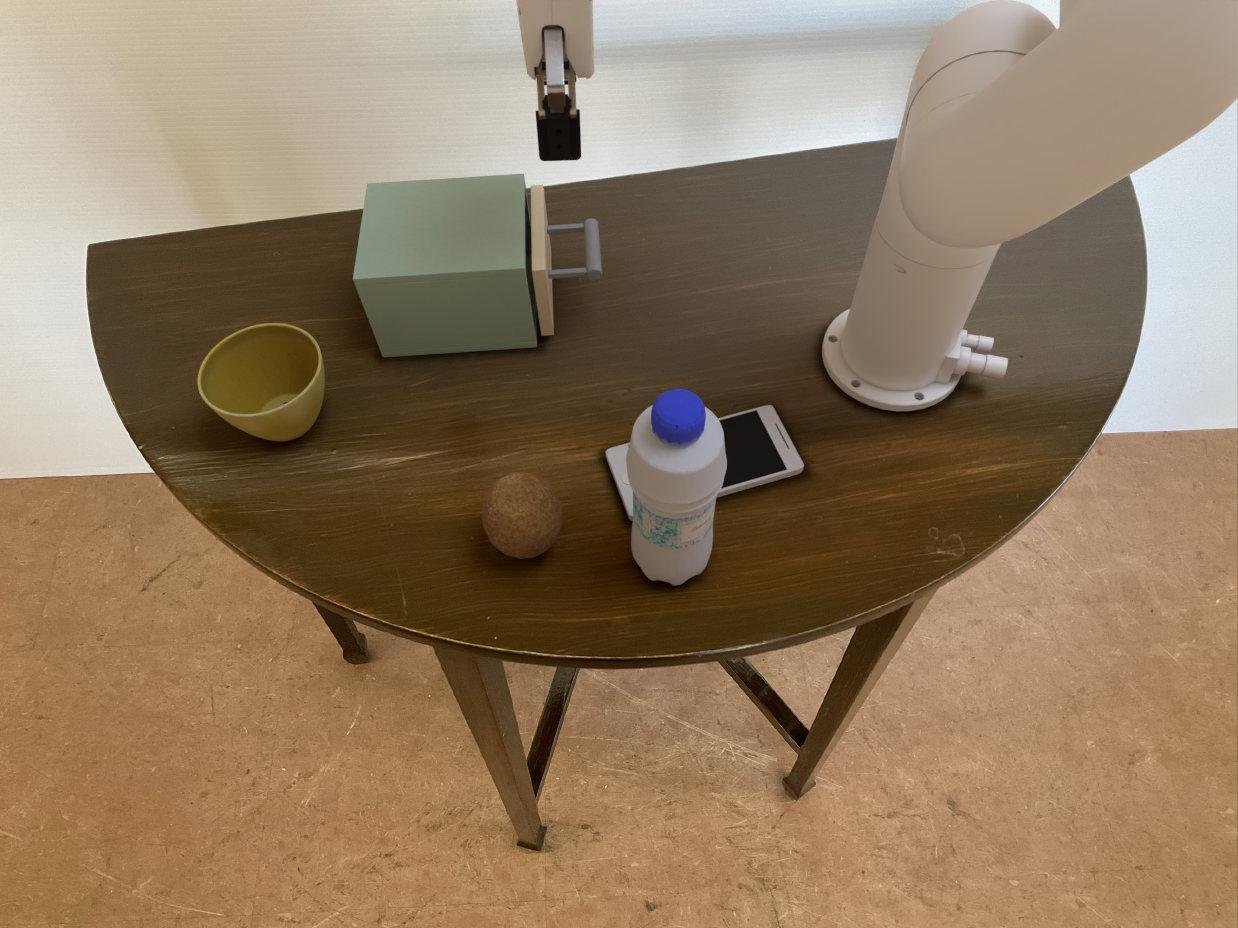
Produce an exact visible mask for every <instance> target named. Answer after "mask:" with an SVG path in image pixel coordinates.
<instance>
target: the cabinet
mask: <svg viewBox="0 0 1238 928" xmlns="http://www.w3.org/2000/svg"><path fill="white" fill-rule="evenodd" d="M525 177H526V176H525V173H511V174H497V175H495V174H494V175H478V176H465V177H464V176H463V177H447V178H433V179H431V178H430V179H416V180H415V179H414V180H399V181H386V182H385V181H383V182H368V183H366V187H365V188H366V189H365V195H364V202H363V209H362V215H361V222H360V228H359V236H358V242H357V248H356V254H355V260H354V261H355V262H354V268H353V275H352V281H353V284H354V286H355V289H356V291H357V294H358V296H359V299H360V301H361V303H362V307H363V310H364V312H365V315H366V318H367V320H368V323H369V325H370V328H371V330H372V333H373V335H374V338H375V341H376V343H377V346H378V349H379V351H380V354H381V356H382V358H395V357H411V356H425V355H439V354H441V355H442V354H456V353H470V352H487V351H500V350H501V351H503V350H515V349H518V350H519V349H531V348H537V347H538V339H537V338H538V330H537V329H538V325H537V303H536V296H535V289H534V283H533V276H532V253H531V212H530V208H529V207H530V206H529V199H528V192H527V186H526V185H527V184H526V179H525ZM525 251H526V252H525Z"/></svg>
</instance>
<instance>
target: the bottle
mask: <svg viewBox="0 0 1238 928" xmlns="http://www.w3.org/2000/svg"><path fill="white" fill-rule="evenodd" d="M704 404H705V403H704V402H703V400H702V399H701V398H700V397H699V396H698V395H697V394H695V392H692V391H690V390H688V389H684V388H673V389H669V390H667V391H664V392H663V393H661V394H660V395H659V396H658V397H656V399H655V400H654V402H653V404H652V405H650V406H648V407H647V408H646V409H644V411H642V412H641V413H640V414H639V416H638V417H637V418H636V420H635V422H634V424H633V426H632V430H631V436H630V441H629V443H630V445H629V449H628V452H627V456H626V467H627V475H628V481H629V484H630V486H631V488H632V490H633V521H632V525H631V533H630V536H631V537H630V545H631V546H630V547H631V553H632V558H633V559H634V561H635V562H636V564H637V565H638V566H639V568H640V569H641V571H642V572H643V574H644V575H645V577H647V579H649V580H650V581H653V582H655V581H661V582H664V583H665V582H666V583H668V584H671V585H672V586H680V585H682V584H684V583H685V582H686V581H688V580H689V579H691V578H693V577H695V576H699V575H700V574H702V573H703V571H704V570H705V569H706V568H707V565H708V562H709V560H710V557H711V554H712V551H713V544H714V517H715V509H716V502H717V498H716V496H717V494H718V493H719V491H720V489H721V487H722V485H723V481H724V476H725V473H726V469H727V458H726V453H725V442H724V432H723V429H722V426H721V424H720V421H719V420H718V418H719V417H717V415H715V414H714V412H713V411H712V410H710V409H709V408H707V406H705V405H704Z"/></svg>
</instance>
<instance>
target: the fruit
mask: <svg viewBox="0 0 1238 928" xmlns="http://www.w3.org/2000/svg"><path fill="white" fill-rule="evenodd" d="M562 511H563V510H562V503H561V501H560V498H559V496H558V494H557V493H556V491H555V489H554V488H553V486H552V485H551V484H550V483H549V482H547V480H544V479H543V478H542V477H540V476H539V475H536V474H534V473H529V472H525V471H524V472H523V471H520V472H512V473H509V474H507V475H504V476H502V477H500V478H499V479H498V480H496V481H495V483H493V485H491V487H490V488H489V489H488V490H487V492H486V494H485V497H484V499H483V501H482V506H481V522H482V528H483V530H484V531H485V534H486V535H487V538H488V539H489V541H490V543H491V545H493V546H494V547H495V548H496V549H497V550H499V552H501V553H502V554H504V555H506V556H508V557H511V558H516V559H519V560H520V559H522V560H524V559H533V558H535V557H538V556H540V555H542V554H543V553H545V552H547V551H548V550H549V549H550V548H551V547H552V546H553V545H554V543H555V542H556V541H557V540H558V537H559V534H560V532H561V529H562V527H563V512H562Z"/></svg>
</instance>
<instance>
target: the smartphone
mask: <svg viewBox="0 0 1238 928" xmlns="http://www.w3.org/2000/svg"><path fill="white" fill-rule="evenodd" d="M717 418H718V420H719V421H720V424H721V426H722V429H723V432H724V442H725V453H726V458H727V469H726V473H725V476H724V481H723V485H722V487H721V489H720V491H719V493H718V494H717V496H716V499H718V498H721V497H724V496H728V495H730V494H735V493H738V492H741V491H745V490H748V489H751V488H755V487H759V486H761V485H766V484H769V483H772V482H776V481H779V480H782V479H786V478H788V477H789V478H790V477H793V476H796V475H799V474H801V473H803V471H804V467H805V464H804V462H803V460H802V458H801V456H800V454H799V453H798V450H797V449H796V446H795V445H794V443H793V441H792V439H791V437H790V436H789V434H788V431H787V430H786V428H785V426H784V424H783V422H782V421H781V418H780V417H779V415H778V413H777V411H776V409H775V408H774V406H773V405H771V404H767V405H761V406H758V407H755V408H750V409H747V410H743V411H740V412H736V413H733V414H729V415H725V416H722V417H717ZM629 445H630V442H627V443H622V444H619V445H616V446H612V447H609V448H608V449H606V450H605V459H606V462H607V464H608V467H609V469H610V472H611V475H612V477H613V480H614V483H615V485H616V488H617V491H618V493H619V496H620V499H621V502H622V503H623V506H624V509H625V512H626V515H627V517H628V520H629V521H630V522H633V490H632V488H631V486H630V484H629V481H628V475H627V467H626V456H627V452H628V449H629Z"/></svg>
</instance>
